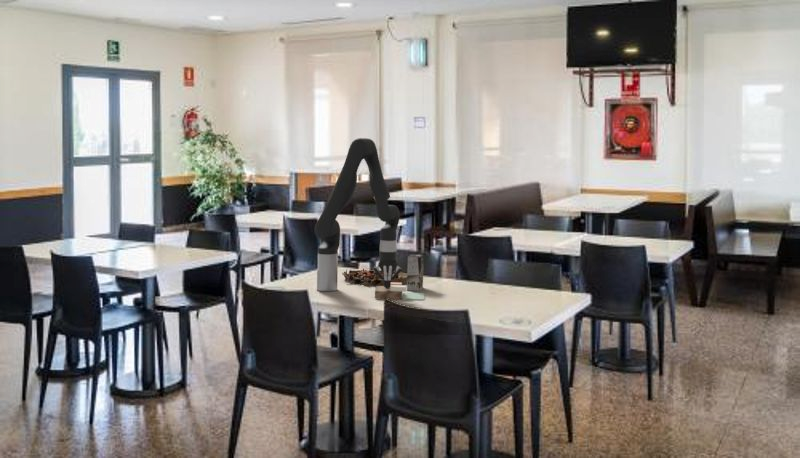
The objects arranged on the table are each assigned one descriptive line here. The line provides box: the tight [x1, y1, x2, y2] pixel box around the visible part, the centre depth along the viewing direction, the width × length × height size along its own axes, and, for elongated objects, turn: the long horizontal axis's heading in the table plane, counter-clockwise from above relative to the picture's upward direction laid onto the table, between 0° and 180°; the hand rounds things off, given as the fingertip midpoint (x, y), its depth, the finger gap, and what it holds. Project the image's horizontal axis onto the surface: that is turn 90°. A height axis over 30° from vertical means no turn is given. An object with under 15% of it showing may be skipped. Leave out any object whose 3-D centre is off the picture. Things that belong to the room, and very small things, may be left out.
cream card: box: [390, 285, 407, 293], centre depth 372 cm, size 7×4×2 cm, turn 88°
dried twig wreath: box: [341, 267, 407, 287], centre depth 413 cm, size 35×33×8 cm
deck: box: [374, 286, 403, 300], centre depth 376 cm, size 12×12×4 cm
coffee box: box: [406, 253, 425, 292], centre depth 394 cm, size 9×6×16 cm
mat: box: [402, 292, 425, 301], centre depth 376 cm, size 10×14×1 cm
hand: (387, 288), depth 372 cm, fingers closed
